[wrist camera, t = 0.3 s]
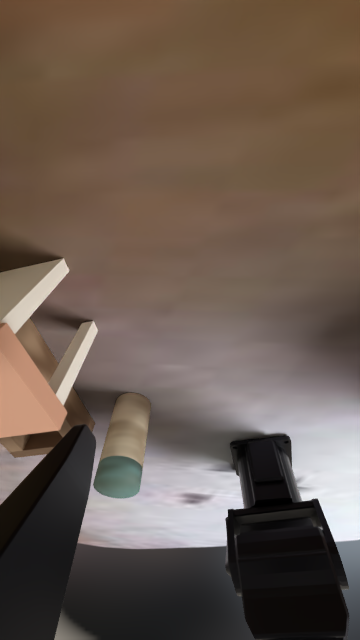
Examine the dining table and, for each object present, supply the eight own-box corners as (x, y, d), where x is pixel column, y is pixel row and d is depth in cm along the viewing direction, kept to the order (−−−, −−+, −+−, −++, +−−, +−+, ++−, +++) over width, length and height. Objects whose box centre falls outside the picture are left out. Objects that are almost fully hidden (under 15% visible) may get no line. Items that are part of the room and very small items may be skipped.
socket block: (95, 423, 31) (86, 449, 28) (28, 432, 32) (14, 457, 29) (12, 289, 22) (-11, 310, 19) (-76, 308, 23) (-108, 329, 20)
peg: (155, 414, 29) (145, 496, 23) (122, 418, 30) (103, 499, 23) (145, 390, 28) (131, 472, 21) (110, 395, 28) (86, 477, 21)
